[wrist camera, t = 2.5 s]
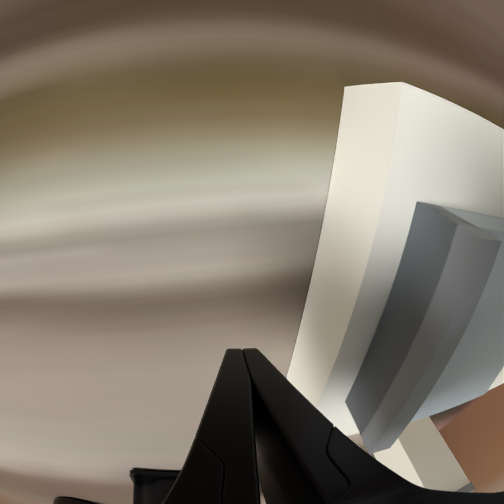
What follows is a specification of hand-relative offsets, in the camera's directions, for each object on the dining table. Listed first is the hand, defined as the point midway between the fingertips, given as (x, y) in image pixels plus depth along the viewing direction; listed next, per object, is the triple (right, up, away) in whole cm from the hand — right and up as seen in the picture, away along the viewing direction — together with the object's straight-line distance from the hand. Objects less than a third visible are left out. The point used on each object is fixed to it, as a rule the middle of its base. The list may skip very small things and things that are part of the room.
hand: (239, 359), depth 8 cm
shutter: (+9, 0, +3) cm, 10 cm away
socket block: (+12, +2, +8) cm, 15 cm away
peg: (+13, -12, +14) cm, 22 cm away
